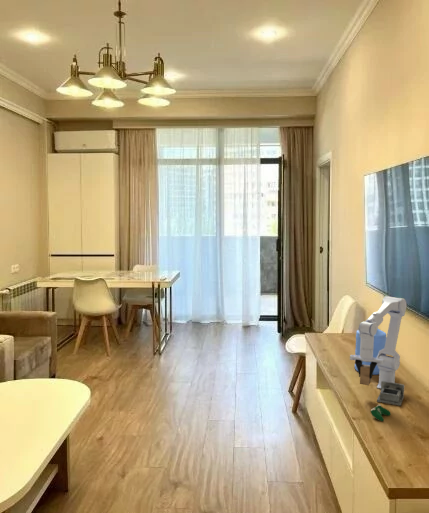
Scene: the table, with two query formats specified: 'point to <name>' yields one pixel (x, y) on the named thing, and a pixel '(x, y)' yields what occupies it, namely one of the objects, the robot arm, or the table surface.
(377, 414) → the gaming controller
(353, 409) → the table surface
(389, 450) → the table surface
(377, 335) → the water jug
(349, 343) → the table surface
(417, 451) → the table surface
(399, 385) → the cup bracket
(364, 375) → the brown rectangular block
